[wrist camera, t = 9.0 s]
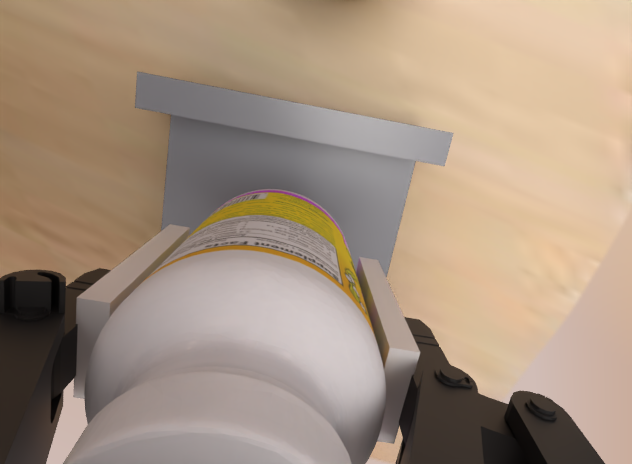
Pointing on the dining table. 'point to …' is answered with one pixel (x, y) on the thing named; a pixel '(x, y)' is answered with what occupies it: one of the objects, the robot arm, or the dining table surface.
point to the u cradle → (287, 158)
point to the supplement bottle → (240, 349)
